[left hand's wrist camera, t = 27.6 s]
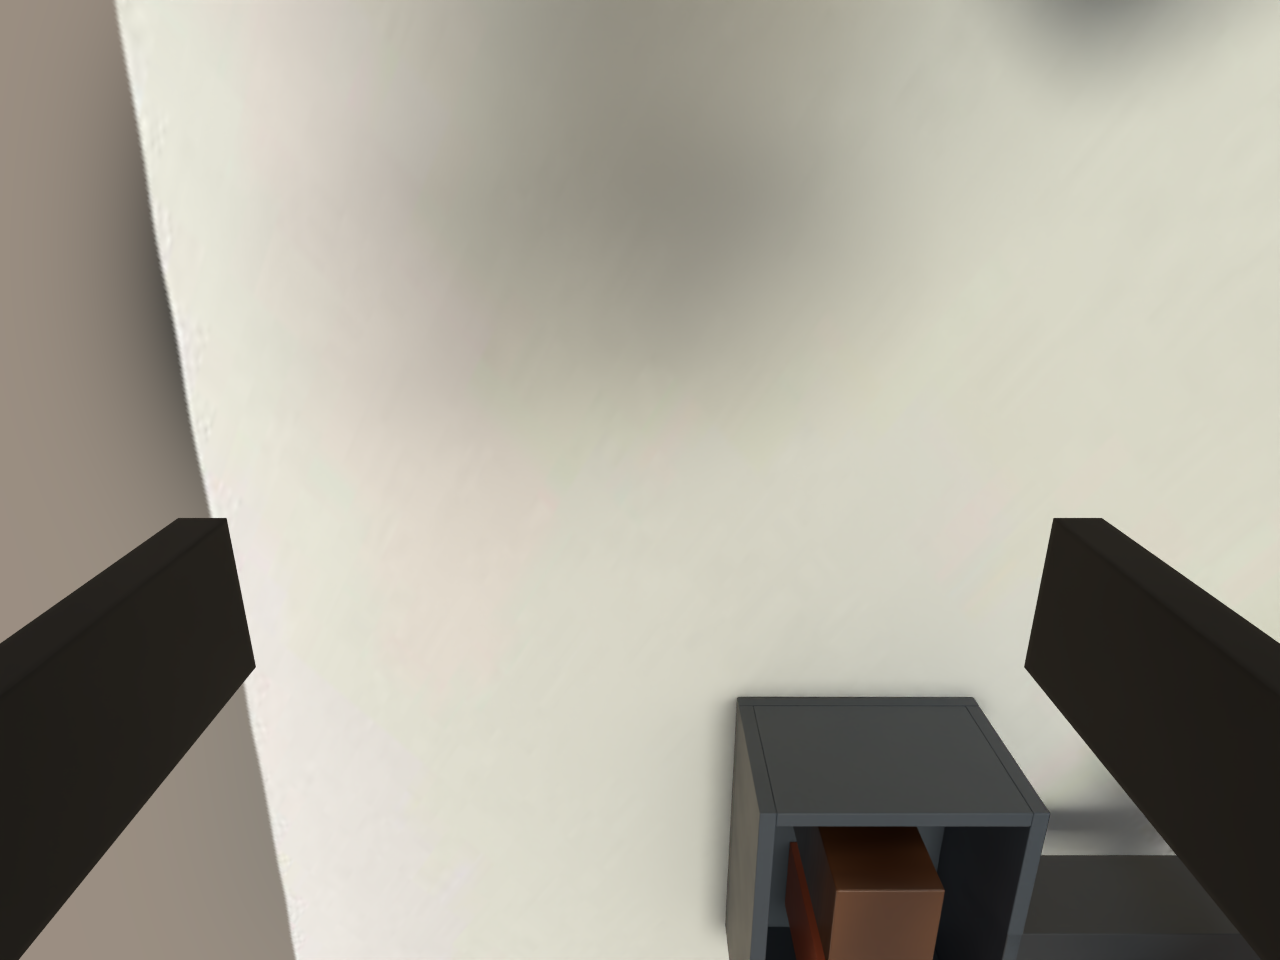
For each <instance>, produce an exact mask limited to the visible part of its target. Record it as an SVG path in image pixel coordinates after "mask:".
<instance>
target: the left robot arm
mask: <svg viewBox="0 0 1280 960" xmlns="http://www.w3.org/2000/svg"><path fill="white" fill-rule="evenodd" d="M255 667H256V666H255V660H254V655H253V650H252V645H251V640H250V635H249V630H248V625H247V620H246V615H245V610H244V605H243V600H242V594H241V589H240V584H239V579H238V574H237V569H236V564H235V559H234V554H233V549H232V544H231V539H230V533H229V528H228V523H227V518H178V519H176V520H175V521H173V522H172V523H171V524H169V525H168V526H166V527H165V528H163V529H162V530H161V531H159V532H158V533H156V534H155V535H154V536H152V537H151V538H149V539H148V540H147V541H145V542H144V543H142V544H141V545H139V546H138V547H137V548H135V549H134V550H132V551H131V552H129V553H128V554H127V555H125V556H124V557H122V558H121V559H120V560H118V561H117V562H115V563H114V564H112V565H111V566H110V567H108V568H107V569H105V570H104V571H103V572H101V573H100V574H98V575H97V576H95V577H94V578H93V579H91V580H90V581H88V582H87V583H85V584H84V585H83V586H81V587H80V588H78V589H77V590H76V591H74V592H73V593H71V594H70V595H69V596H67V597H66V598H64V599H63V600H61V601H60V602H59V603H57V604H56V605H54V606H53V607H51V608H50V609H49V610H47V611H46V612H44V613H43V614H41V615H40V616H39V617H37V618H36V619H34V620H33V621H32V622H30V623H29V624H27V625H26V626H24V627H23V628H22V629H20V630H19V631H17V632H16V633H15V634H13V635H12V636H10V637H9V638H7V639H6V640H5V641H3V642H2V643H0V960H19V959H20V957H21V956H22V955H23V954H24V953H25V951H26V950H27V949H28V948H29V946H30V945H31V944H32V943H33V941H34V940H35V939H36V938H37V936H38V935H39V934H40V933H41V932H42V930H43V929H44V928H45V927H46V925H47V924H48V923H49V922H50V920H51V919H52V918H53V917H54V915H55V914H56V913H57V912H58V911H59V909H60V908H61V907H62V906H63V904H64V903H65V902H66V901H67V899H68V898H69V897H70V896H71V894H72V893H73V892H74V891H75V890H76V888H77V887H78V886H79V885H80V883H81V882H82V881H83V880H84V878H85V877H86V876H87V875H88V873H89V872H90V871H91V870H92V869H93V867H94V866H95V865H96V864H97V862H98V861H99V860H100V859H101V857H102V856H103V855H104V854H105V852H106V851H107V850H108V849H109V848H110V846H111V845H112V844H113V843H114V841H115V840H116V839H117V838H118V836H119V835H120V834H121V833H122V831H123V830H124V829H125V828H126V827H127V825H128V824H129V823H130V822H131V820H132V819H133V818H134V817H135V815H136V814H137V813H138V812H139V811H140V809H141V808H142V807H143V805H144V804H145V803H146V802H147V801H148V799H149V798H150V797H151V796H152V794H153V793H154V792H155V791H156V789H157V788H158V787H159V786H160V785H161V783H162V782H163V781H164V780H165V778H166V777H167V776H168V775H169V773H170V772H171V771H172V770H173V769H174V767H175V766H176V765H177V764H178V762H179V761H180V760H181V759H182V757H183V756H184V755H185V754H186V753H187V751H188V750H189V749H190V748H191V746H192V745H193V744H194V743H195V741H196V740H197V739H198V738H199V736H200V735H201V734H202V733H203V731H204V730H205V729H206V728H207V727H208V725H209V724H210V723H211V722H212V720H213V719H214V718H215V717H216V715H217V714H218V713H219V712H220V710H221V709H222V708H223V707H224V706H225V704H226V703H227V702H228V701H229V699H230V698H231V697H232V696H233V694H234V693H235V692H236V691H237V690H238V688H239V687H240V686H241V685H242V683H243V682H244V681H245V680H246V678H247V677H248V676H249V675H250V673H251V672H252V671H253V670H254V669H255ZM1024 667H1025V669H1026V670H1027V671H1028V672H1029V673H1030V675H1031V676H1032V677H1033V678H1034V680H1035V681H1036V682H1037V683H1038V685H1039V686H1040V687H1041V688H1042V690H1043V691H1044V692H1045V693H1046V694H1047V696H1048V697H1049V698H1050V699H1051V701H1052V702H1053V703H1054V704H1055V706H1056V707H1057V708H1058V709H1059V711H1060V712H1061V713H1062V714H1063V715H1064V717H1065V718H1066V719H1067V720H1068V722H1069V723H1070V724H1071V725H1072V727H1073V728H1074V729H1075V730H1076V732H1077V733H1078V734H1079V735H1080V736H1081V738H1082V739H1083V740H1084V741H1085V743H1086V744H1087V745H1088V746H1089V748H1090V749H1091V750H1092V751H1093V753H1094V754H1095V755H1096V756H1097V757H1098V759H1099V760H1100V761H1101V762H1102V764H1103V765H1104V766H1105V767H1106V769H1107V770H1108V771H1109V772H1110V773H1111V775H1112V776H1113V777H1114V778H1115V780H1116V781H1117V782H1118V783H1119V785H1120V786H1121V787H1122V788H1123V790H1124V791H1125V792H1126V793H1127V794H1128V796H1129V797H1130V798H1131V799H1132V801H1133V802H1134V803H1135V804H1136V806H1137V807H1138V808H1139V809H1140V811H1141V812H1142V813H1143V814H1144V815H1145V817H1146V818H1147V819H1148V820H1149V822H1150V823H1151V824H1152V825H1153V827H1154V828H1155V829H1156V830H1157V832H1158V833H1159V834H1160V835H1161V836H1162V838H1163V839H1164V840H1165V841H1166V843H1167V844H1168V845H1169V846H1170V848H1171V849H1172V850H1173V851H1174V853H1175V854H1176V855H1177V856H1178V857H1179V859H1180V860H1181V861H1182V862H1183V864H1184V865H1185V866H1186V867H1187V869H1188V870H1189V871H1190V872H1191V874H1192V875H1193V876H1194V877H1195V878H1196V880H1197V881H1198V882H1199V883H1200V885H1201V886H1202V887H1203V888H1204V890H1205V891H1206V892H1207V893H1208V894H1209V896H1210V897H1211V898H1212V899H1213V901H1214V902H1215V903H1216V904H1217V906H1218V907H1219V908H1220V909H1221V911H1222V912H1223V913H1224V914H1225V915H1226V917H1227V918H1228V919H1229V920H1230V922H1231V923H1232V924H1233V925H1234V927H1235V928H1236V929H1237V930H1238V932H1239V933H1240V934H1241V935H1242V936H1243V938H1244V939H1245V940H1246V941H1247V943H1248V944H1249V945H1250V946H1251V948H1252V949H1253V950H1254V951H1255V953H1256V954H1257V955H1258V956H1259V957H1260V959H1261V960H1280V643H1278V642H1277V641H1275V640H1274V639H1273V638H1271V637H1270V636H1268V635H1267V634H1265V633H1264V632H1263V631H1261V630H1260V629H1258V628H1257V627H1256V626H1254V625H1253V624H1251V623H1250V622H1248V621H1247V620H1246V619H1244V618H1243V617H1241V616H1240V615H1239V614H1237V613H1236V612H1234V611H1233V610H1231V609H1230V608H1229V607H1227V606H1226V605H1224V604H1223V603H1221V602H1220V601H1219V600H1217V599H1216V598H1214V597H1213V596H1212V595H1210V594H1209V593H1207V592H1206V591H1204V590H1203V589H1202V588H1200V587H1199V586H1197V585H1196V584H1195V583H1193V582H1192V581H1190V580H1189V579H1187V578H1186V577H1185V576H1183V575H1182V574H1180V573H1179V572H1178V571H1176V570H1175V569H1173V568H1172V567H1170V566H1169V565H1168V564H1166V563H1165V562H1163V561H1162V560H1160V559H1159V558H1158V557H1156V556H1155V555H1153V554H1152V553H1151V552H1149V551H1148V550H1146V549H1145V548H1143V547H1142V546H1141V545H1139V544H1138V543H1136V542H1135V541H1134V540H1132V539H1131V538H1129V537H1128V536H1126V535H1125V534H1124V533H1122V532H1121V531H1119V530H1118V529H1117V528H1115V527H1114V526H1112V525H1111V524H1109V523H1108V522H1107V521H1105V520H1104V519H1102V518H1053V523H1052V528H1051V533H1050V539H1049V544H1048V549H1047V554H1046V559H1045V564H1044V569H1043V574H1042V579H1041V584H1040V589H1039V594H1038V600H1037V605H1036V610H1035V615H1034V620H1033V625H1032V630H1031V635H1030V640H1029V645H1028V650H1027V655H1026V660H1025V666H1024Z"/></svg>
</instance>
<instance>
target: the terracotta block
mask: <svg viewBox="0 0 1280 960" xmlns="http://www.w3.org/2000/svg"><path fill="white" fill-rule="evenodd" d="M785 907H786V912H787V916H788V921H789V926H790V931H791V936H792V941H793V946H794V951H795V956H796V960H825V956H824V952H823V948H822V944H821V940H820V936H819V931H818V927H817V923H816V919H815V915H814V911H813V907H812V903H811V898H810V894H809V890H808V886H807V882H806V878H805V874H804V870H803V865H802V861H801V857H800V853H799V849H798V845H797V842H790V848H789V860H788V872H787V884H786V896H785Z"/></svg>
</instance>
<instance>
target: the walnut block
mask: <svg viewBox="0 0 1280 960" xmlns="http://www.w3.org/2000/svg"><path fill="white" fill-rule="evenodd" d="M793 828H794V833H795V837H796V841H797V845H798V849H799V853H800V857H801V861H802V865H803V870H804V874H805V878H806V882H807V886H808V890H809V894H810V898H811V903H812V907H813V911H814V915H815V919H816V923H817V927H818V931H819V936H820V940H821V944H822V948H823V952H824V956H825V960H933V955H934V949H935V944H936V938H937V932H938V927H939V921H940V915H941V910H942V904H943V899H944V893H945V890H944V888H943V885H942V883H941V881H940V878H939V876H938V874H937V872H936V869H935V867H934V865H933V862H932V860H931V858H930V856H929V853H928V851H927V849H926V846H925V844H924V842H923V840H922V837H921V835H920V833H919V830H918V828H917V826H793Z"/></svg>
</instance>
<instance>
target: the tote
mask: <svg viewBox="0 0 1280 960" xmlns="http://www.w3.org/2000/svg"><path fill="white" fill-rule="evenodd" d="M1049 817H1050V813H1049V811H1048V810H1047V808H1046V807H1045V805H1044V804H1043V802H1042V801H1041V799H1040V798H1039V796H1038V794H1037V793H1036V791H1035V790H1034V788H1033V787H1032V785H1031V784H1030V782H1029V781H1028V779H1027V778H1026V776H1025V775H1024V773H1023V772H1022V770H1021V769H1020V767H1019V766H1018V764H1017V763H1016V761H1015V760H1014V758H1013V757H1012V755H1011V754H1010V752H1009V751H1008V749H1007V748H1006V746H1005V745H1004V743H1003V742H1002V740H1001V739H1000V737H999V736H998V734H997V733H996V731H995V730H994V728H993V727H992V725H991V724H990V722H989V721H988V719H987V717H986V716H985V714H984V713H983V711H982V710H981V708H980V707H979V705H978V704H977V702H976V701H975V699H974V698H737V713H736V732H735V751H734V770H733V790H732V809H731V828H730V847H729V866H728V885H727V905H726V924H725V926H726V934H727V943H728V952H729V960H796V956H795V951H794V946H793V941H792V936H791V931H790V926H789V921H788V916H787V912H786V907H785V896H786V884H787V872H788V860H789V848H790V842H797V841H796V837H795V833H794V828H793V826H917V828H918V830H919V833H920V835H921V837H922V840H923V842H924V844H925V846H926V849H927V851H928V853H929V856H930V858H931V860H932V862H933V865H934V867H935V869H936V872H937V874H938V876H939V878H940V881H941V883H942V885H943V888H944V890H945V893H944V899H943V904H942V910H941V915H940V921H939V927H938V932H937V938H936V944H935V949H934V955H933V960H1261V959H1260V957H1259V956H1258V955H1257V954H1256V953H1255V951H1254V950H1253V949H1252V948H1251V946H1250V945H1249V944H1248V943H1247V941H1246V940H1245V939H1244V938H1243V936H1242V935H1241V934H1240V933H1239V932H1238V930H1237V929H1236V928H1235V927H1234V925H1233V924H1232V923H1231V922H1230V920H1229V919H1228V918H1227V917H1226V915H1225V914H1224V913H1223V912H1222V911H1221V909H1220V908H1219V907H1218V906H1217V904H1216V903H1215V902H1214V901H1213V899H1212V898H1211V897H1210V896H1209V894H1208V893H1207V892H1206V891H1205V890H1204V888H1203V887H1202V886H1201V885H1200V883H1199V882H1198V881H1197V880H1196V878H1195V877H1194V876H1193V875H1192V874H1191V872H1190V871H1189V870H1188V869H1187V867H1186V866H1185V865H1184V864H1183V862H1182V861H1181V860H1180V859H1179V857H1178V856H1177V855H1041V852H1042V848H1043V843H1044V839H1045V834H1046V830H1047V826H1048V821H1049Z"/></svg>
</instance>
